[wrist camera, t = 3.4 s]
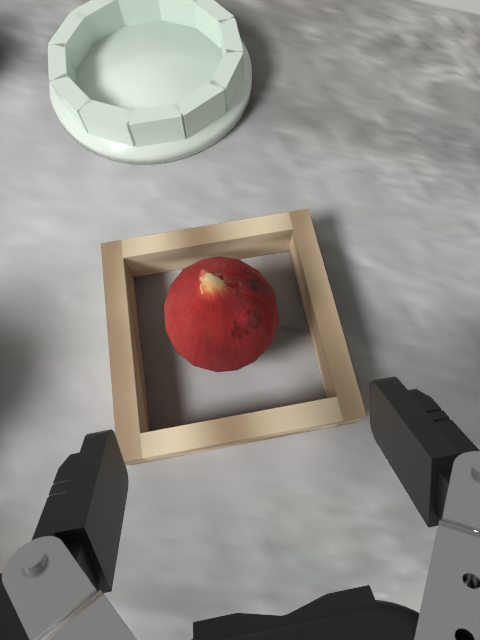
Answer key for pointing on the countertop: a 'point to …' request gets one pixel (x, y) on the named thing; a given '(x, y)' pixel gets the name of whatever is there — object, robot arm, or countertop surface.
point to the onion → (220, 314)
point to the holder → (181, 252)
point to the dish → (149, 77)
